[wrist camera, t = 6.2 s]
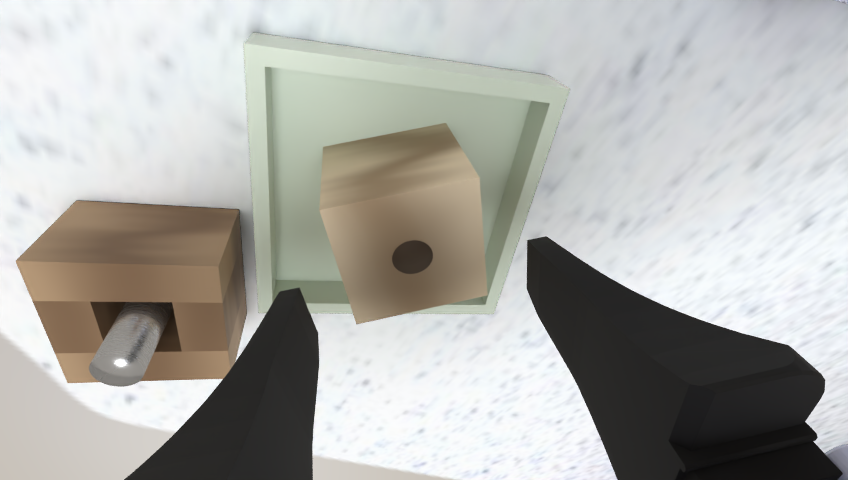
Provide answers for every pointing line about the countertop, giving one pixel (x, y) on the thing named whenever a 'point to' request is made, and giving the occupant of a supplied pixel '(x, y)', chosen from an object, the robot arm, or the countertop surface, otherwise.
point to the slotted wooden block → (141, 284)
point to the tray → (374, 116)
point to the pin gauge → (130, 343)
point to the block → (404, 221)
